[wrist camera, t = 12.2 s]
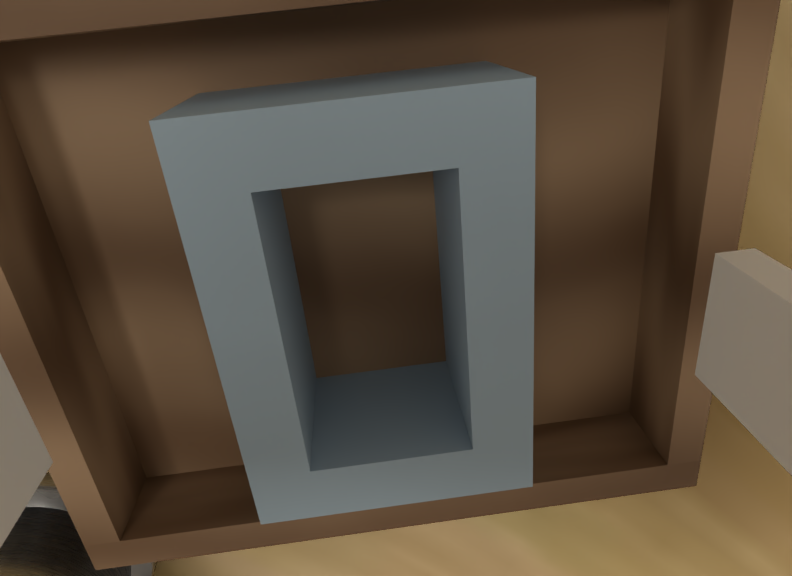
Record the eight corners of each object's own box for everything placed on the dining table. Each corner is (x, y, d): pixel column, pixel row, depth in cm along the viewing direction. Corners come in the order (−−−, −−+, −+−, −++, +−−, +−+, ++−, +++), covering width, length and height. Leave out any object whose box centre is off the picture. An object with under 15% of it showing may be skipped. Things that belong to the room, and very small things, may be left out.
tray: (-55, 0, 13) (-176, -4, 10) (696, -79, 14) (799, -105, 11) (134, 482, 20) (95, 570, 17) (641, 413, 21) (696, 485, 17)
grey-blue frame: (276, 423, 18) (260, 524, 15) (198, 93, 14) (148, 121, 10) (495, 394, 18) (532, 486, 15) (486, 60, 14) (536, 76, 10)
